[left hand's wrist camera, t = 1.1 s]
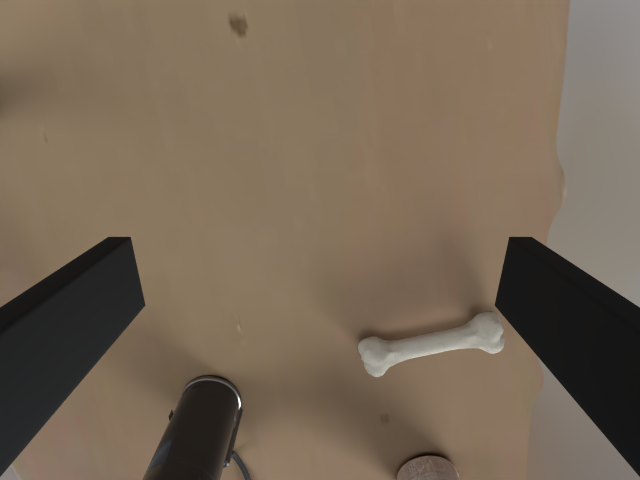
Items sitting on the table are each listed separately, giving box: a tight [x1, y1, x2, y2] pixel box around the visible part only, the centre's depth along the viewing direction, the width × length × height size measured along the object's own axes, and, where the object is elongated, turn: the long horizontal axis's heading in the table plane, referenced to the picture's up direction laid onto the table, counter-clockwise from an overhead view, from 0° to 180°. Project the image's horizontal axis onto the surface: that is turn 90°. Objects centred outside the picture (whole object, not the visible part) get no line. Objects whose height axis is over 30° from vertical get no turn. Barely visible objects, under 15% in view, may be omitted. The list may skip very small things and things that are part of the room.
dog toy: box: [358, 312, 504, 377], centre depth 50 cm, size 20×6×5 cm, turn 105°
